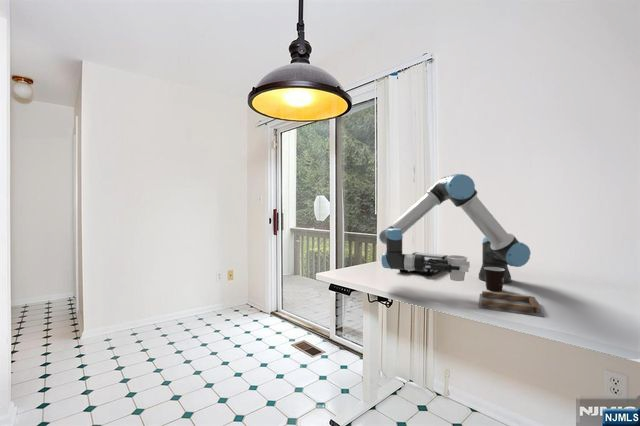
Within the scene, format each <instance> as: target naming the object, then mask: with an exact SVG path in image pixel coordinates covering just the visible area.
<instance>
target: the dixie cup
mask: <svg viewBox="0 0 640 426" xmlns="http://www.w3.org/2000/svg"><path fill="white" fill-rule="evenodd" d="M447 259H448V264H449V265H451V266H452V264H456V265H466V262H468V256H465V255H459V254H458V255H452V254H450V255H448V256H447ZM448 274H449V279H450V280H451V281H455V282H464V281H465V275H466V272H461V271H452V270H451V273H449V272H448Z"/></svg>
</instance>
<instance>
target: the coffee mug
mask: <svg viewBox="0 0 640 426" xmlns="http://www.w3.org/2000/svg"><path fill="white" fill-rule="evenodd" d="M484 271H485V280H486V281H485V288H486V291H488V292H497V293H503V287H504V283H503V281H504V274H505V269H502V268H497V267H485V268H484Z"/></svg>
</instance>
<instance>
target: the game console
mask: <svg viewBox="0 0 640 426" xmlns="http://www.w3.org/2000/svg"><path fill="white" fill-rule="evenodd" d="M411 254H414V255H415V256H416V255H424V257H425V260H429V259H447V256H449V255H446V254H437V253H436V254H435V253H429V252H427V253H426V252H425V253H424V252H417V251H415V252H413V253H411ZM447 260H448V259H447ZM397 270H398V271H399V272H401V273H408V274H410V273H412V272H413V271H412V270H410V271H408V270H399V269H397ZM440 272H441V271H439V270H430V269H428V270H427V269H426V267H425V269H424V271H423V272H422V271H419V273H420V275H422V276H428V277H432V276H435V275H436V274H438V273H440Z"/></svg>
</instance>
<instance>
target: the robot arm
mask: <svg viewBox="0 0 640 426" xmlns="http://www.w3.org/2000/svg"><path fill="white" fill-rule="evenodd" d="M475 187H476V184H475V181H474V180H473V178H472V177H470V176H469V175H466V174H463V173H456V174H452V175H447V176H443V177H441V178H440V179H438V180H437V181H436V182H435V183H434V184H433V185H432V186H430V188H428V189H427V190H426V192H425V195H424V196H422V197H421V198H420V199H419V200H418V201H417V202H416V203H414V204H413V205H412V206H411V207H410V208H409V209H408V210H407V211H406V212H404V213H403V214H402V215H401V216H400V217H399V218H397V219H396V220H395V221H394V222H393V223H392V224H391V225H390V226H388V227H387V228H386V229H383V230H382V231H380V232H379V235H378V238H379V241H380V242H381V243H382V244H384V245H386V250H385V251H386V252H383V253H382V255H381V266H382V268H383V269H390V270H398V269H399V270H398V271H400V270H408V271H410V270H412V272H414V271H416V272H420V271H422V272H423V271H424V269H425V267H426V269H427V270H428V269H430V270H439V271H440V272H447V273H448V274H449V273H451V270H452V271H461V272H465V273H469V269H470V267H471V265H470V261H467V262H466V265H456V264H452V266H451V265H449V264H448V260H447V259H429V260H425V257H424V255H416V256H415V255H414V254H412V253H411V254H410V253H403V238H404V237H403V235H404V234H405V233H406V232H407V231H408V230H409V229H411V228H412V227H413V226H414V225H416V223H418V221H420V220H421V219H422V218H423V217H424V216H426V215H427V214H428V213H429V212H430V211H431V210H432V209H433V208H434V207H436V206H440V205H441V204H442V203H444V202H445V201H448V200H450V201H451V202H452V204H453V205H454V206H455V207H456V208H460V209H462V210H463V212H464V213H465V214H466V215H467V216H468V218H469V219H470V220H471V221H472V222H473V223H474V225H475V226H476V227H477V229H478V230H479V231H480V232H481V233H482V234H483V236H484V237H483V239H482V244H481V245H482V257H481V258H482V260H481V261H482V264H481V267H480V269H479V271H478V279H479V280H481V281H484V282H486V280H485V271H484V268H485V267H497V268H502V269H505V274H504V281H503V284H506V283H507V284H508V283H509V284H510V283H511V282H512V275H511V273H510V270H509V267H508V266H510V267H516V268H518V267H519V268H520V267H523V266H525V265H526V264H527V263H528V262H529V260H530V258H531V249H530V247H529V246H528V245H527V244H525V243H524V242H520V241H519V240H518V239H517V237H516V236H515V235H514V234H513V233H508V232H507V231H506V230H505V229H504V227H503V226H502V225H501V224H500V223H499V221H498V220H497V219H496V217H494V216H493V214H492V213H491V212H490V210H489V209H488V208H487V207H486V206H485V205H484V203H483V202H482V201H481V200H480V199H479V197H478V196H477V195H478V190H476V188H475Z"/></svg>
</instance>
